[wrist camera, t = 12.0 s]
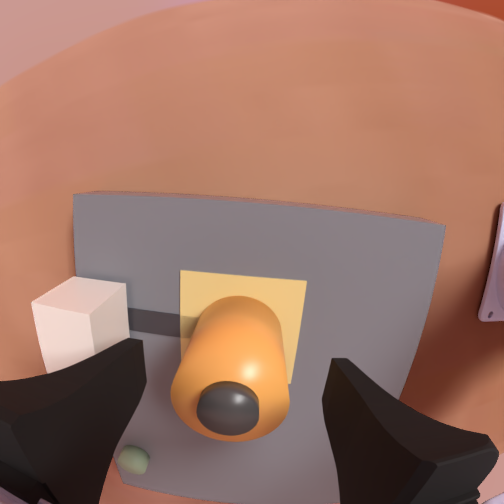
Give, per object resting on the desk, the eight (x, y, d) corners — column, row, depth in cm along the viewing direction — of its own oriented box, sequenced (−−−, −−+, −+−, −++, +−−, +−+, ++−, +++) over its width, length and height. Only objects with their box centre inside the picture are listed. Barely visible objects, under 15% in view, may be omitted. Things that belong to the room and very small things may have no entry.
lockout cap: (294, 310, 14) (310, 385, 9) (265, 378, 15) (266, 462, 10) (209, 284, 14) (178, 348, 8) (188, 355, 15) (158, 434, 9)
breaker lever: (125, 283, 14) (89, 314, 10) (131, 356, 15) (103, 398, 11) (73, 276, 14) (31, 302, 10) (82, 346, 15) (49, 381, 11)
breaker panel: (422, 218, 15) (459, 229, 12) (342, 480, 21) (349, 512, 17) (97, 191, 16) (59, 196, 12) (131, 462, 21) (119, 493, 17)
